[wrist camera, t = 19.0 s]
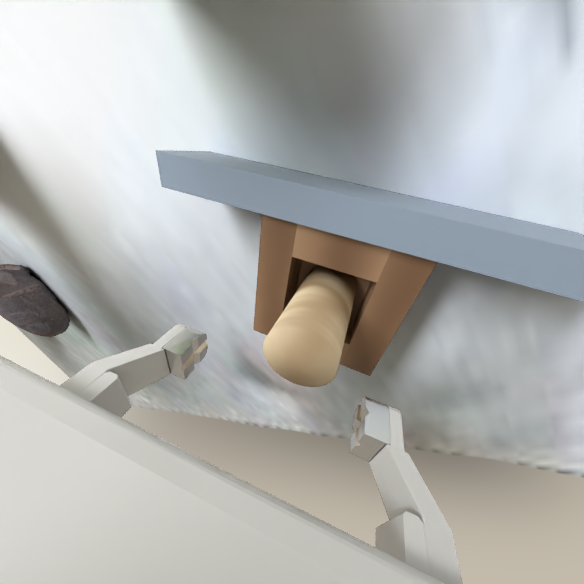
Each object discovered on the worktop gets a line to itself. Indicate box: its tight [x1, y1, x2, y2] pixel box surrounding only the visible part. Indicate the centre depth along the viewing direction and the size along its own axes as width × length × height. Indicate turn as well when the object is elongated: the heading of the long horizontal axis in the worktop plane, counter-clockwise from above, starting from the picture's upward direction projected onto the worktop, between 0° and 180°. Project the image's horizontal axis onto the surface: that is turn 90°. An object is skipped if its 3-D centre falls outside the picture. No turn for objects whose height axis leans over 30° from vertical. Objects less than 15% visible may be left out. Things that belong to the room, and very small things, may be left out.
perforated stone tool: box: [0, 264, 70, 337], centre depth 38 cm, size 15×5×7 cm, turn 25°
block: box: [254, 214, 437, 376], centre depth 17 cm, size 10×10×4 cm
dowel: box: [263, 265, 357, 387], centre depth 14 cm, size 4×4×8 cm
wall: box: [156, 150, 584, 302], centre depth 13 cm, size 24×2×5 cm, turn 81°
